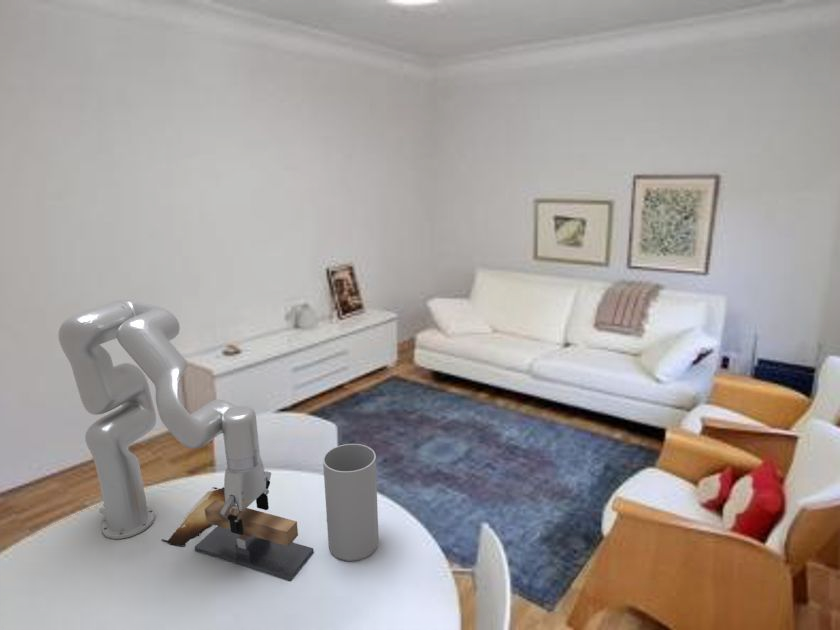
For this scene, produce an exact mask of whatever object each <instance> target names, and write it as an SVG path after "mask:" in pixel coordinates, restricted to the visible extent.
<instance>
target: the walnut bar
mask: <svg viewBox="0 0 840 630" xmlns="http://www.w3.org/2000/svg"><path fill="white" fill-rule="evenodd" d="M224 505H225V502H223V501H219V500H215V501H214V502H212V503H211V504H210V505H209V506H208V507H206V508H205V515H206V522H207V523H209V524H212V526H213V525H214V526H216V527H217V526H220V527H223V528H227V529H230V530H231V528H230V520H227V519H224V517H223V516H222V515H221V513H220V512H221V510H222V508H223V507H224ZM235 506H237V505H235ZM237 511H238V510H237V509H235V510H234V513H233V515H234V516H236V514H237ZM240 519H242V524H243V533H244V534H248V535H251V536H254V537H258V538H261V539H265V540H268V541H272V542H275V543H279V544H282V545H286V546H289V545H290V544H291V543H292V542H293V543H294V541H295V540H296V538H297V537H298V536H299V532H298V530H299V529H298V521H296V520H293V519H288V518H285V517H282V516H278V515H274V514H271V513H267V512H263V511H259V510H256V509H252V508H249V507H247V508H245V509H244V510H243V511H242V514H241V517H240Z"/></svg>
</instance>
